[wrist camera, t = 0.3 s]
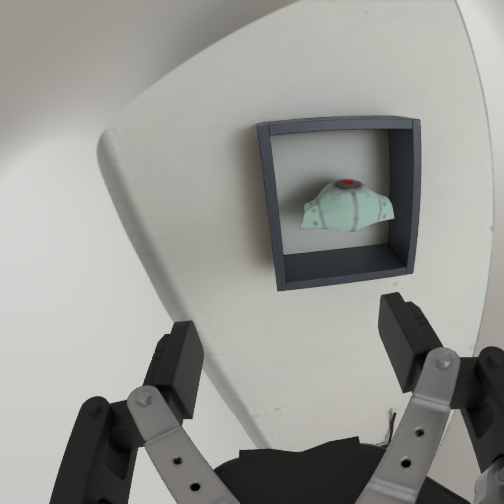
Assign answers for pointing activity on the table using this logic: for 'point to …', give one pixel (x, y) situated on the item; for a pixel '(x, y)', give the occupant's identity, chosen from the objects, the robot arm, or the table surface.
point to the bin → (401, 196)
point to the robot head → (346, 207)
